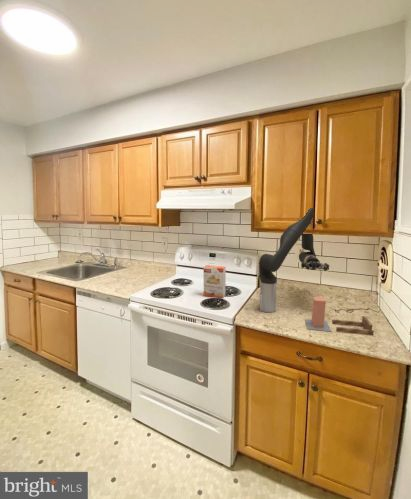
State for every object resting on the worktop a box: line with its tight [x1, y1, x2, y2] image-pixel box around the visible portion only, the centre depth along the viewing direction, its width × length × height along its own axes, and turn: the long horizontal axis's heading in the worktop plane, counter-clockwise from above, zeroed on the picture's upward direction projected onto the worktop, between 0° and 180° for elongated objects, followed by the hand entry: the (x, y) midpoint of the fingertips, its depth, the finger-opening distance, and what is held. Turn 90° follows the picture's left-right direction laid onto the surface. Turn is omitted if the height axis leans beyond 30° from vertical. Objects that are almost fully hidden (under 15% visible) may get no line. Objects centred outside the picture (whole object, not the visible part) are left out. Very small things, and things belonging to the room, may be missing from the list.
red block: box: [311, 296, 326, 328], centre depth 131 cm, size 5×5×14 cm
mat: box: [304, 318, 333, 333], centre depth 132 cm, size 11×11×1 cm
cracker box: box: [203, 264, 227, 299], centre depth 172 cm, size 14×6×21 cm, turn 69°
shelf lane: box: [331, 316, 375, 336], centre depth 128 cm, size 16×9×5 cm, turn 77°
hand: (317, 268), depth 137 cm, fingers open, 8 cm apart
